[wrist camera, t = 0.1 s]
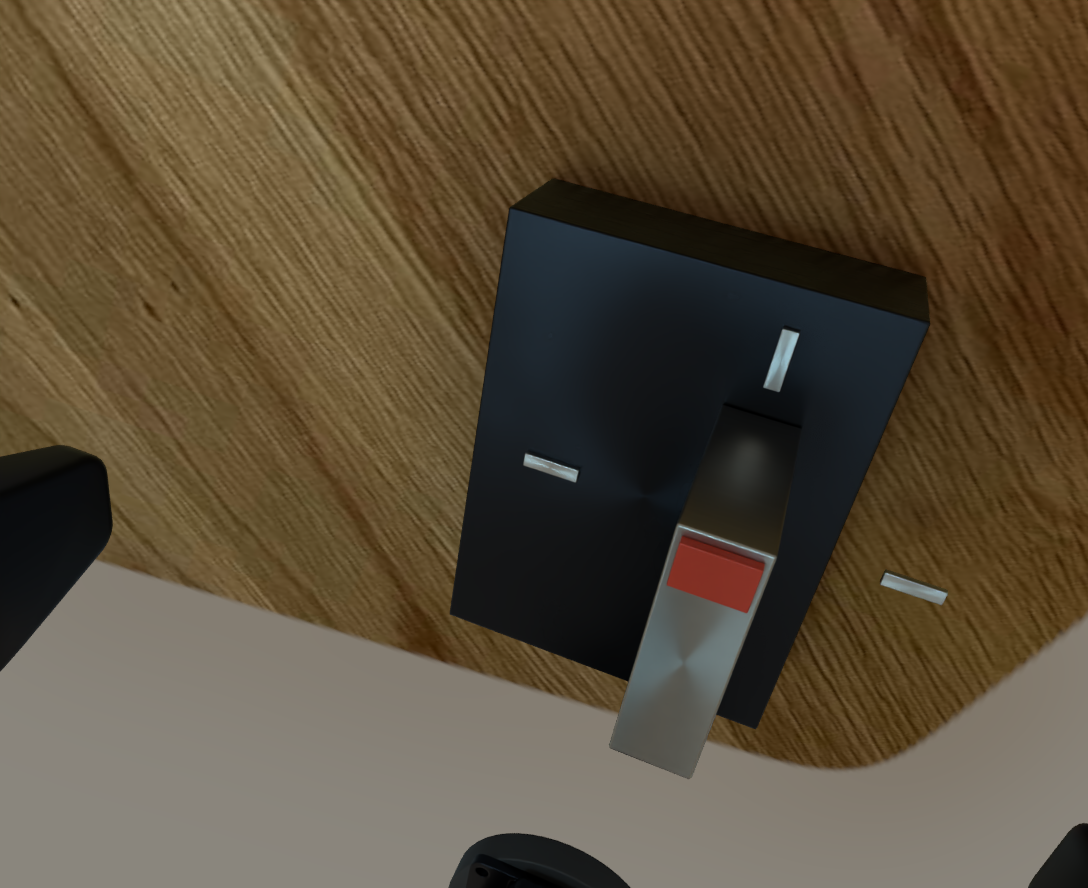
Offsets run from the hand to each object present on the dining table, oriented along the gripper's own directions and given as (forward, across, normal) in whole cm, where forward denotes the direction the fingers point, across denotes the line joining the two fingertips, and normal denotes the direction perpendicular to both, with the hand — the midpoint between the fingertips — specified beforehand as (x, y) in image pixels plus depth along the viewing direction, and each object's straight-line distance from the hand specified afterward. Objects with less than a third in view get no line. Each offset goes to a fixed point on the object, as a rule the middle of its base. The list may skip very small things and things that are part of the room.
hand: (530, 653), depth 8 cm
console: (+16, -1, +6) cm, 17 cm away
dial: (+12, -2, +6) cm, 14 cm away
